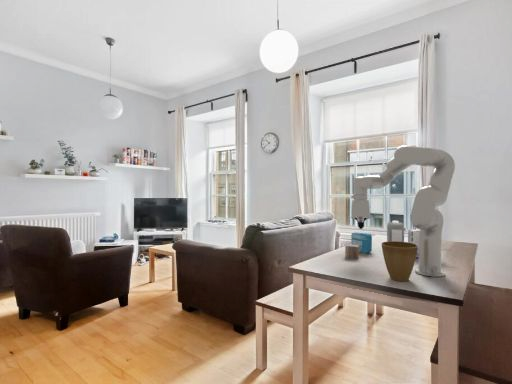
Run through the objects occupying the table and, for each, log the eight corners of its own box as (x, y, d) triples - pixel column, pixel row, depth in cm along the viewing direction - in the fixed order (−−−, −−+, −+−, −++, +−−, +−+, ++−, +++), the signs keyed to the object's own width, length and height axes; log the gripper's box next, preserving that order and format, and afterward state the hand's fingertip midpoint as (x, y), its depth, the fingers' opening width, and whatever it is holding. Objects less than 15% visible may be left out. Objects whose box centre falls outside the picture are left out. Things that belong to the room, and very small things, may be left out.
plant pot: (383, 272, 146) (383, 240, 145) (418, 277, 138) (418, 243, 138) (378, 280, 133) (379, 245, 133) (416, 286, 125) (416, 248, 125)
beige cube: (358, 247, 173) (345, 246, 176) (357, 259, 173) (345, 257, 176) (359, 244, 180) (346, 243, 183) (359, 256, 180) (346, 255, 183)
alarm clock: (404, 255, 182) (404, 222, 182) (389, 254, 185) (389, 222, 185) (400, 249, 199) (400, 219, 199) (386, 248, 202) (386, 219, 202)
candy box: (431, 256, 179) (431, 229, 178) (436, 259, 173) (436, 231, 173) (407, 256, 180) (407, 229, 180) (411, 258, 174) (411, 230, 174)
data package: (351, 250, 196) (351, 232, 196) (354, 249, 199) (355, 231, 199) (368, 253, 187) (368, 234, 187) (371, 252, 190) (372, 234, 190)
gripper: (346, 197, 175) (347, 229, 175) (373, 197, 169) (374, 230, 169) (348, 197, 182) (348, 227, 182) (374, 197, 176) (374, 228, 176)
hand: (360, 228), depth 175 cm, fingers closed
